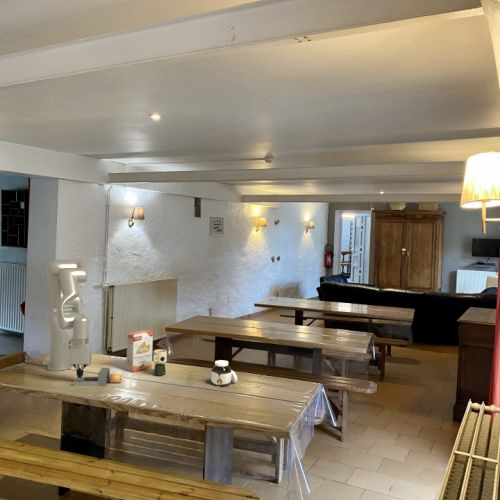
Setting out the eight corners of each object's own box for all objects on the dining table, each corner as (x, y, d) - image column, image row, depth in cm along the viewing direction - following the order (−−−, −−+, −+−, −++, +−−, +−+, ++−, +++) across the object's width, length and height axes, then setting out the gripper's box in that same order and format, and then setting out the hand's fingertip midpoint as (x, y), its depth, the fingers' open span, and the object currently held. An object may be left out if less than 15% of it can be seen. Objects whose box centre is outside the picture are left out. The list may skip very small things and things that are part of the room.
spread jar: (208, 384, 247) (209, 362, 247) (220, 379, 257) (220, 357, 257) (229, 389, 242) (229, 365, 241) (240, 383, 252) (240, 360, 251)
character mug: (158, 378, 256) (159, 353, 256) (148, 376, 259) (148, 352, 259) (171, 373, 266) (171, 349, 265) (160, 371, 269) (161, 348, 268)
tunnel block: (72, 385, 240) (73, 373, 240) (77, 379, 250) (77, 368, 250) (106, 385, 242) (106, 373, 242) (109, 379, 252) (109, 367, 251)
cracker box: (133, 372, 265) (133, 334, 264) (125, 370, 268) (126, 333, 268) (152, 367, 276) (153, 331, 275) (145, 365, 279) (146, 329, 279)
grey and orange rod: (84, 383, 243) (84, 375, 243) (86, 381, 248) (86, 373, 248) (122, 383, 245) (122, 374, 245) (123, 381, 250) (123, 372, 250)
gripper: (63, 342, 240) (62, 379, 241) (94, 343, 242) (93, 379, 243) (67, 339, 248) (66, 374, 249) (97, 339, 249) (96, 374, 251)
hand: (79, 376), depth 246 cm, fingers closed
